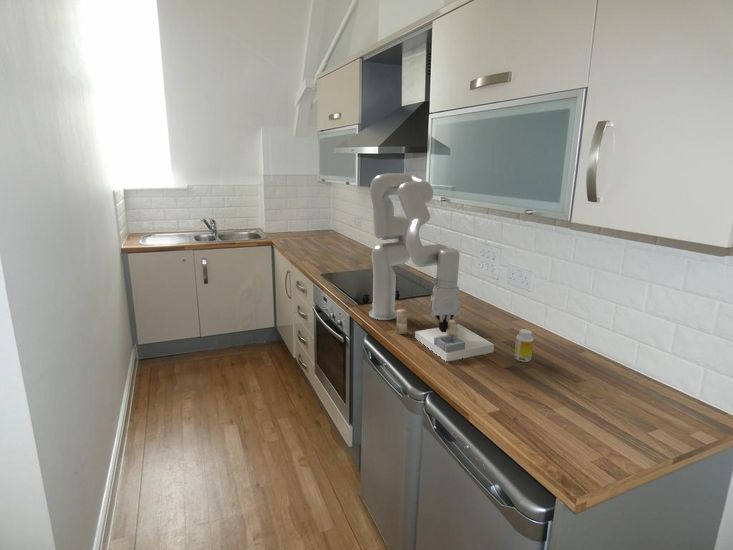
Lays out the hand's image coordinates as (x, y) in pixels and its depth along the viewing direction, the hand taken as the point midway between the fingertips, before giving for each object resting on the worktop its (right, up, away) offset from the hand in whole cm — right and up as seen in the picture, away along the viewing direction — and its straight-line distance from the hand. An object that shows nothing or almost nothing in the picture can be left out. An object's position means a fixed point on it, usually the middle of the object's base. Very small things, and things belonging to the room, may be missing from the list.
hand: (442, 330), depth 164 cm
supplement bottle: (+26, -9, -10) cm, 29 cm away
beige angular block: (+4, -1, +3) cm, 5 cm away
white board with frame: (+4, -5, 0) cm, 6 cm away
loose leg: (-14, -2, +11) cm, 18 cm away
